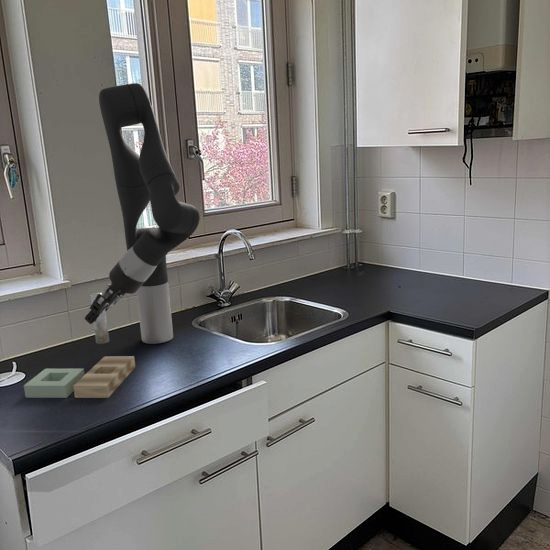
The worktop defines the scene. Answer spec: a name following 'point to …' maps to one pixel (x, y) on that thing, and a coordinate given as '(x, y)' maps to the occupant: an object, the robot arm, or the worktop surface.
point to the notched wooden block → (104, 377)
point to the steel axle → (100, 324)
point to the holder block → (53, 383)
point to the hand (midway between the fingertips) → (92, 318)
